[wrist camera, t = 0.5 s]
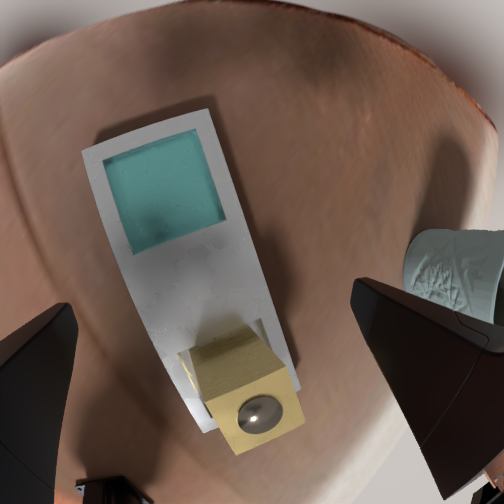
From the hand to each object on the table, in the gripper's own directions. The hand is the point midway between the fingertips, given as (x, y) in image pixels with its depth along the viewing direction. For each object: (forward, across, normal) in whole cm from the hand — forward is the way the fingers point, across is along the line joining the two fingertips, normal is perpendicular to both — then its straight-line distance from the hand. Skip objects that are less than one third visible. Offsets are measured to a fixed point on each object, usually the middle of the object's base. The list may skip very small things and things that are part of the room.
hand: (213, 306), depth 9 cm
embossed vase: (+15, -23, +9) cm, 29 cm away
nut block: (+10, -1, +12) cm, 16 cm away
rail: (+12, +1, +6) cm, 14 cm away
